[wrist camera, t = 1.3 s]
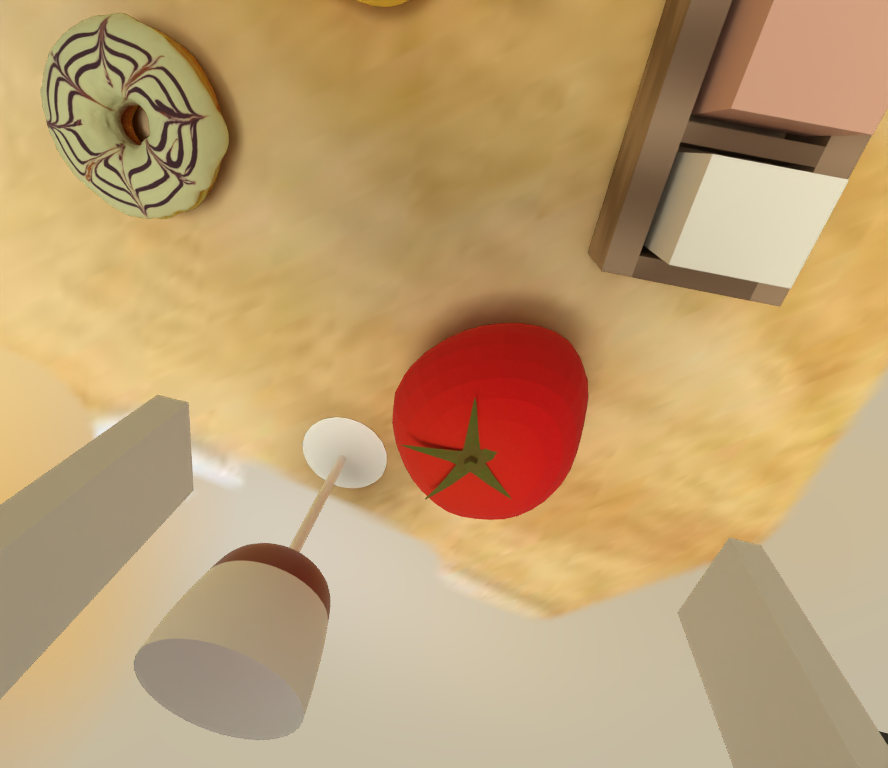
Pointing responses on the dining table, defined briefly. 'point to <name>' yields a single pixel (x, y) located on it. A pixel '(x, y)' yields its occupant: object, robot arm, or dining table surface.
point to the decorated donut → (111, 111)
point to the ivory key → (741, 217)
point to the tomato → (492, 419)
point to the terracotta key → (800, 67)
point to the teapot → (382, 2)
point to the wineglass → (258, 615)
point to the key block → (675, 130)
